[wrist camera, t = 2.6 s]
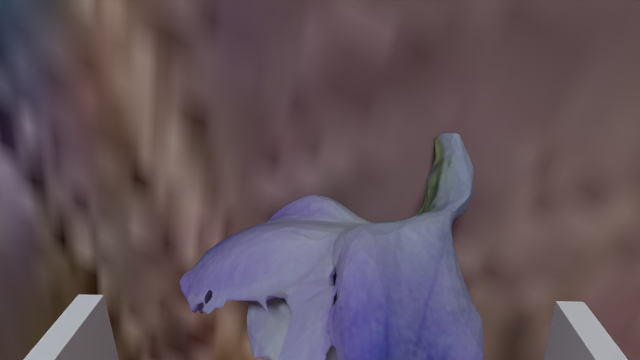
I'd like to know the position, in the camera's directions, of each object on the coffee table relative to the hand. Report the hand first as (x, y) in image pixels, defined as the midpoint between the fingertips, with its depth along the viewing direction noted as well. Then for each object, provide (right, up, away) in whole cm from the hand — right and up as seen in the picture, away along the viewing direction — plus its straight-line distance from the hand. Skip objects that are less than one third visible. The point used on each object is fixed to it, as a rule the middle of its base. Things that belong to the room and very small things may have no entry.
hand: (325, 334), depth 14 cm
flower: (+1, +3, +3) cm, 5 cm away
